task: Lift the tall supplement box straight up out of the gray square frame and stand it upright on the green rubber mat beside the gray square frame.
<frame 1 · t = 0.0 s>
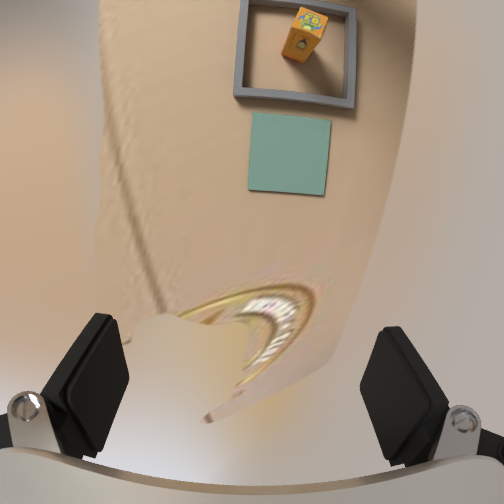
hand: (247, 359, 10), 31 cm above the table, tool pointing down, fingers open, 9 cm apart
gray square frame: (296, 48, 32), on the table
mat: (289, 153, 37), on the table
supplement box: (295, 49, 32), resting in gray square frame
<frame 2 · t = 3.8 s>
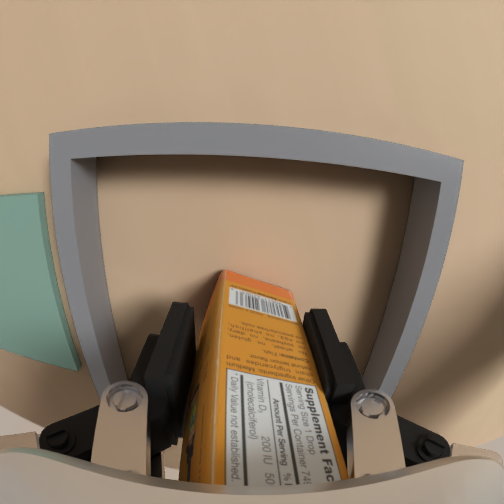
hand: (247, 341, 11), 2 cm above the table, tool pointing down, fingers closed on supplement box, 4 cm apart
gray square frame: (248, 308, 13), on the table
supplement box: (248, 306, 13), resting in gray square frame, touching gripper
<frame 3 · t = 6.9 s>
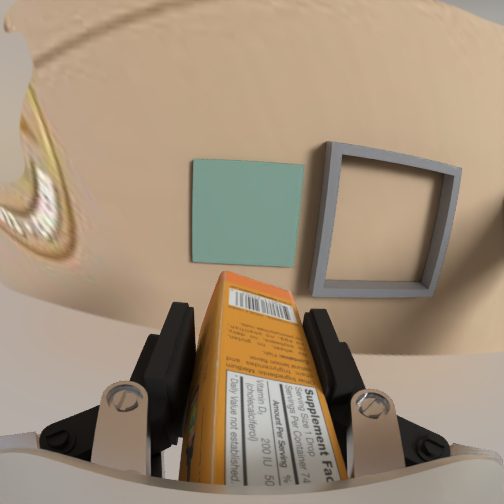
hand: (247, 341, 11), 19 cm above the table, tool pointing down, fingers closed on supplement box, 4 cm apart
gray square frame: (386, 224, 29), on the table
mat: (245, 213, 28), on the table
supplement box: (248, 307, 13), point 16 cm above the table, touching gripper
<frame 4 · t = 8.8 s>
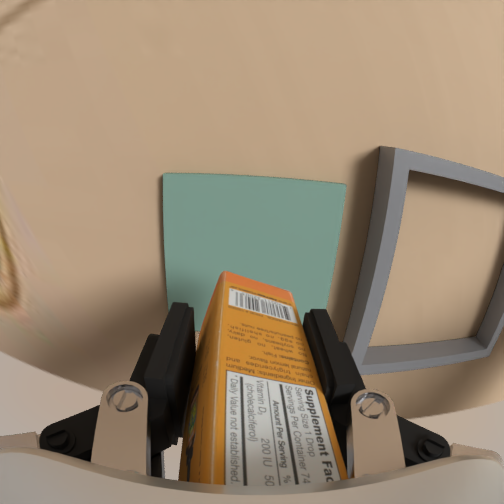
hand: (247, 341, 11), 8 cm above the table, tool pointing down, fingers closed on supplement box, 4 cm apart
gray square frame: (450, 270, 18), on the table
mat: (249, 260, 18), on the table
supplement box: (248, 307, 13), point 5 cm above the table, touching gripper
when the fingers open (4 cm above the table, at t = 10.3 s): supplement box stays where it is, resting on mat.
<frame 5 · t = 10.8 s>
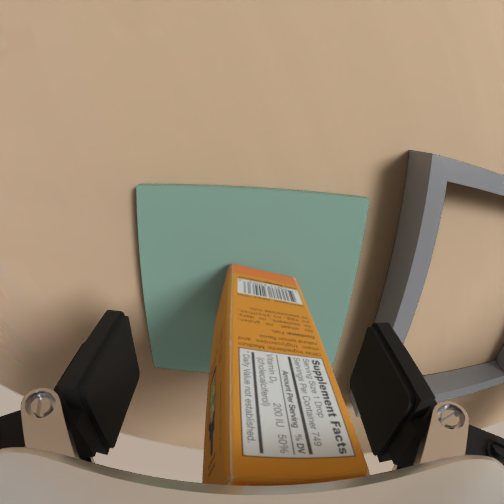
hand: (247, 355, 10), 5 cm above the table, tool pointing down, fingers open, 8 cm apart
gray square frame: (477, 294, 15), on the table
mat: (247, 292, 14), on the table
supplement box: (258, 296, 14), resting on mat
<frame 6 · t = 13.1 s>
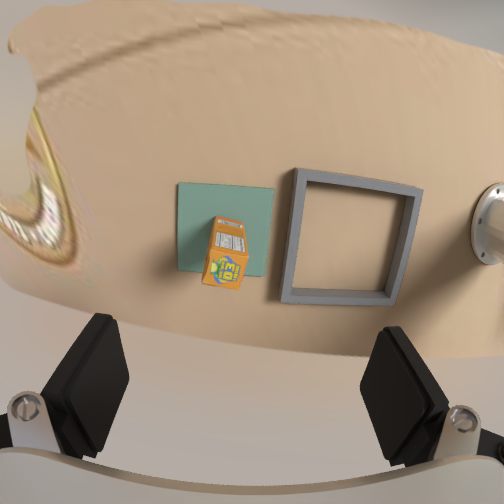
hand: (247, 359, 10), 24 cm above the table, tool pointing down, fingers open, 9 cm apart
gray square frame: (349, 240, 34), on the table
mat: (223, 230, 33), on the table
supplement box: (227, 231, 33), resting on mat
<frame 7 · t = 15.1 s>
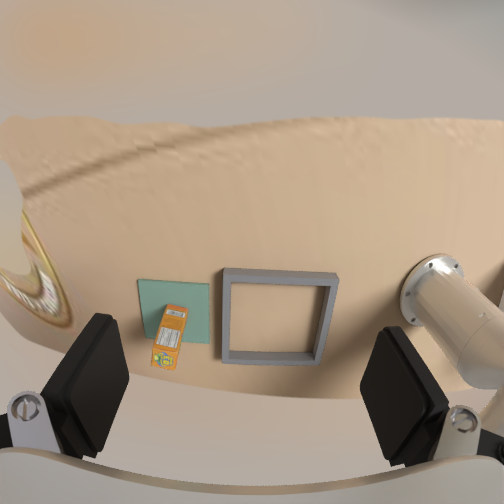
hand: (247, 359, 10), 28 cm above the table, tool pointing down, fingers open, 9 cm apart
gray square frame: (275, 317, 43), on the table
mat: (175, 312, 42), on the table
supplement box: (178, 313, 42), resting on mat
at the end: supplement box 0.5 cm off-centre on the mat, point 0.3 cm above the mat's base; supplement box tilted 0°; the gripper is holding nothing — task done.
